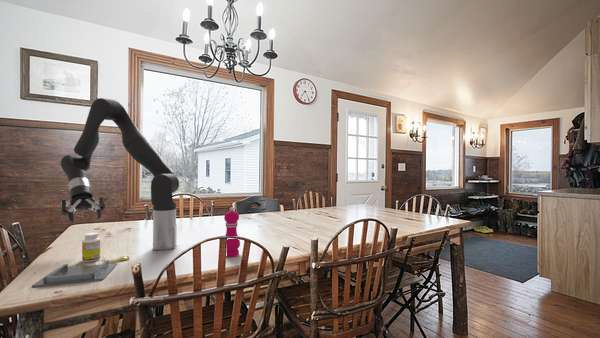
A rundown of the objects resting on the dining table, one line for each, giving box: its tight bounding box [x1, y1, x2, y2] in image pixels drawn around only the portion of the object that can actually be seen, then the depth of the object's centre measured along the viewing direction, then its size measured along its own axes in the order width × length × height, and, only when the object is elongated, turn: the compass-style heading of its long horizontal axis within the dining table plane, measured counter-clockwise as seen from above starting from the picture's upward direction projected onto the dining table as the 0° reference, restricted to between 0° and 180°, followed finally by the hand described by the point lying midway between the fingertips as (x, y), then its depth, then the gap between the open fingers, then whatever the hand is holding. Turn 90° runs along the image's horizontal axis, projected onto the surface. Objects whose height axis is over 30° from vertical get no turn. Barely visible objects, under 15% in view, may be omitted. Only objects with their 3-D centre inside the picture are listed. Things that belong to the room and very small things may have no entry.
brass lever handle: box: [107, 255, 130, 264], centre depth 103 cm, size 7×3×1 cm, turn 143°
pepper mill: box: [223, 206, 241, 258], centre depth 112 cm, size 7×7×20 cm
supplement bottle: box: [81, 232, 101, 263], centre depth 103 cm, size 6×6×10 cm
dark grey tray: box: [31, 260, 118, 288], centre depth 89 cm, size 18×14×2 cm
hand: (85, 219), depth 110 cm, fingers open, 8 cm apart
